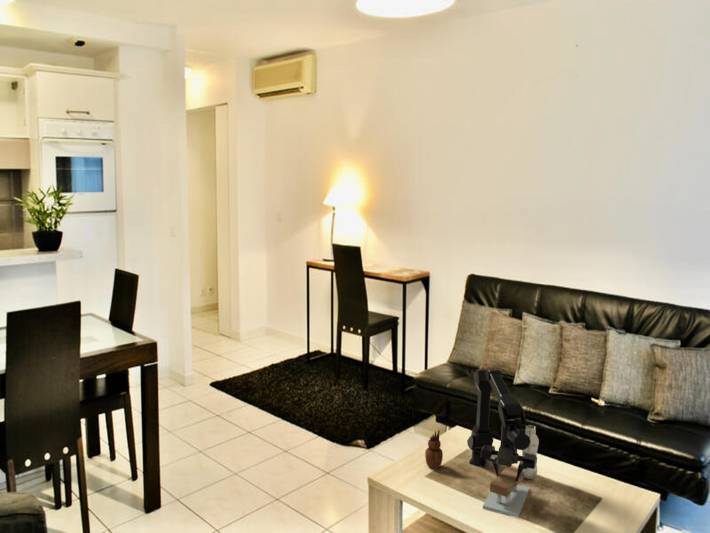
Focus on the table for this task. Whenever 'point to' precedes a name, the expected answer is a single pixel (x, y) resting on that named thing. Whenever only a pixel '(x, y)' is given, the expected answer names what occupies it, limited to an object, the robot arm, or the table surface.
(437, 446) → the wooden figurine
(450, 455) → the table surface
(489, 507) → the peg stand
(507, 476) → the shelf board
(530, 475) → the plastic bottle
